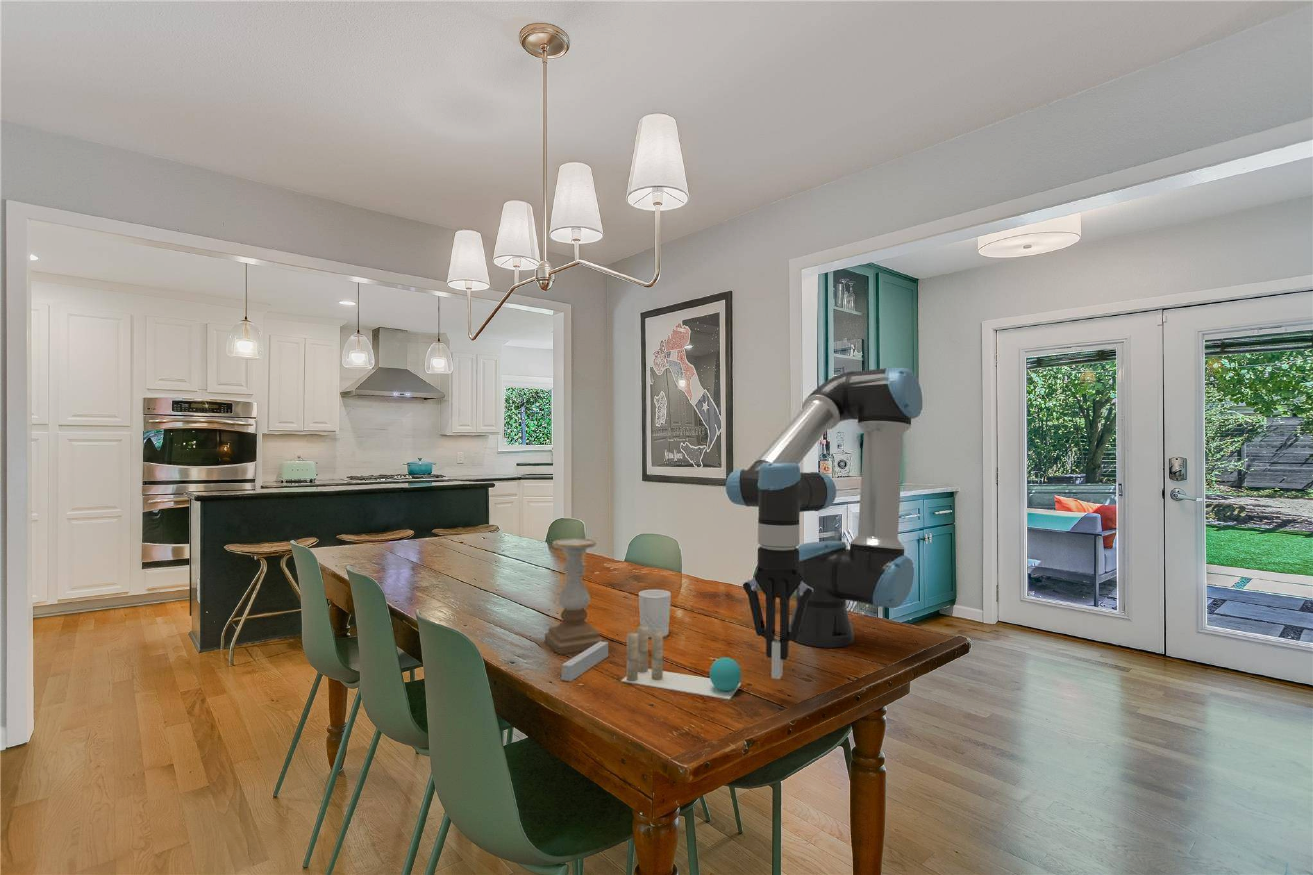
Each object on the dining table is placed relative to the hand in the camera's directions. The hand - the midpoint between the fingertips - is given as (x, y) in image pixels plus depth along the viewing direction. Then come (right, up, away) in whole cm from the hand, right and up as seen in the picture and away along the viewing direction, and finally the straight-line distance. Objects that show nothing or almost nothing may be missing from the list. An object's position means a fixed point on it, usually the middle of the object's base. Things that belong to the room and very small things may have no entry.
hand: (777, 676), depth 114 cm
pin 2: (-25, -4, +13) cm, 29 cm away
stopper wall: (-37, -4, +16) cm, 40 cm away
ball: (-9, -1, +4) cm, 10 cm away
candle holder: (-41, -5, +31) cm, 52 cm away
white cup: (-23, -5, +39) cm, 45 cm away
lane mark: (-17, -4, +8) cm, 19 cm away
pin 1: (-27, -4, +9) cm, 29 cm away
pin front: (-22, -4, +9) cm, 24 cm away
